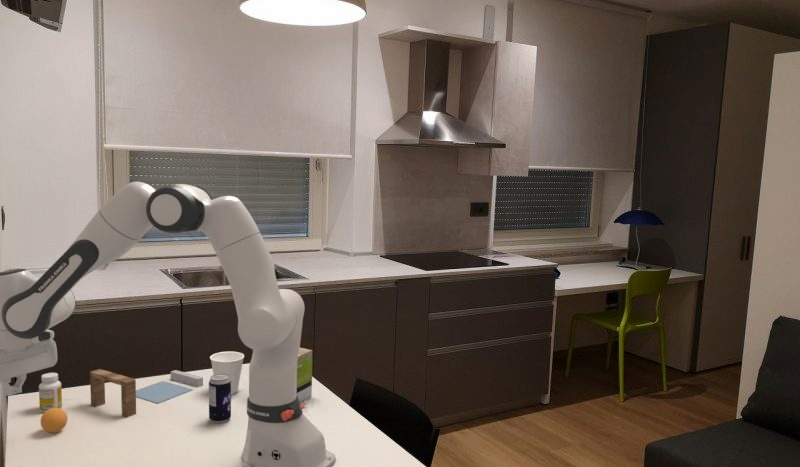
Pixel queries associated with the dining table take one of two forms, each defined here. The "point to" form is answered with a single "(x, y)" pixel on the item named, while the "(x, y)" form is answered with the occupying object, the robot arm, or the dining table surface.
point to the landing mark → (161, 392)
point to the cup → (228, 366)
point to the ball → (54, 420)
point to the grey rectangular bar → (186, 378)
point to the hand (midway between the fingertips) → (13, 394)
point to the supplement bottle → (50, 392)
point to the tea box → (304, 374)
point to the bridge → (126, 383)
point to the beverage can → (219, 398)
